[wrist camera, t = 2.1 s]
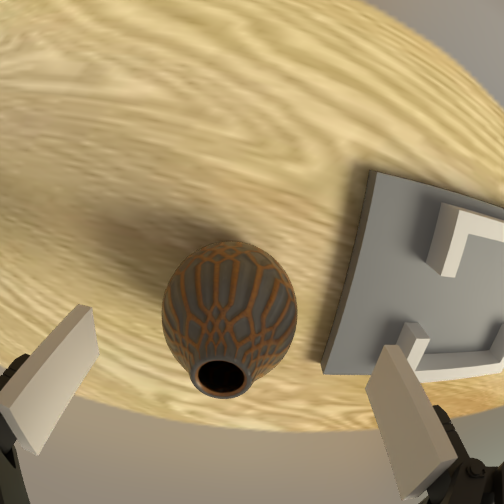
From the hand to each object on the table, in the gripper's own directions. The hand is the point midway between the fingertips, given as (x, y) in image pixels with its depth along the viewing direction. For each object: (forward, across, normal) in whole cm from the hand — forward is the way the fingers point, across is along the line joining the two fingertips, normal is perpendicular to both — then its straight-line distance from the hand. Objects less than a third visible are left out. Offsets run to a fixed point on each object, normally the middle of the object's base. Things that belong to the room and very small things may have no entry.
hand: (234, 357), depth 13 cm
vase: (+7, -1, 0) cm, 7 cm away
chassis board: (+7, +15, +1) cm, 17 cm away
